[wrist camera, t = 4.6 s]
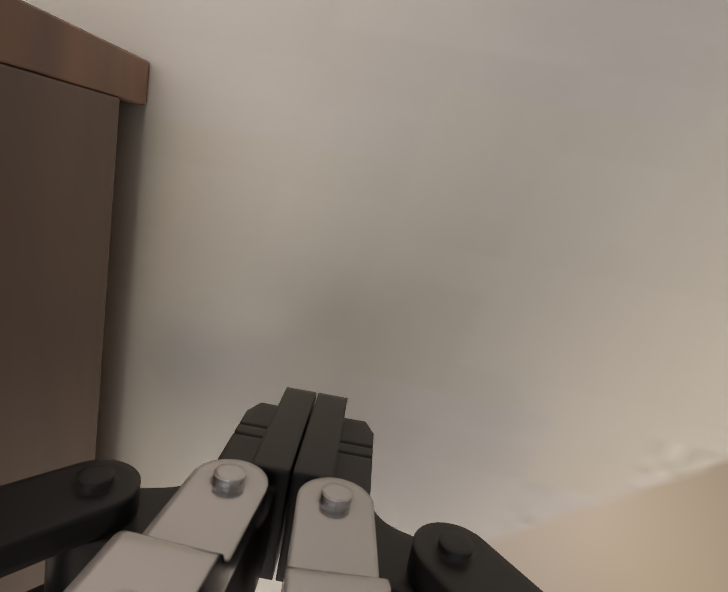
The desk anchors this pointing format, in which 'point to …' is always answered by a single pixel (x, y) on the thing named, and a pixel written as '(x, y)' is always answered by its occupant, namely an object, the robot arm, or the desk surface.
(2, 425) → the small wooden shelf
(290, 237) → the desk surface
